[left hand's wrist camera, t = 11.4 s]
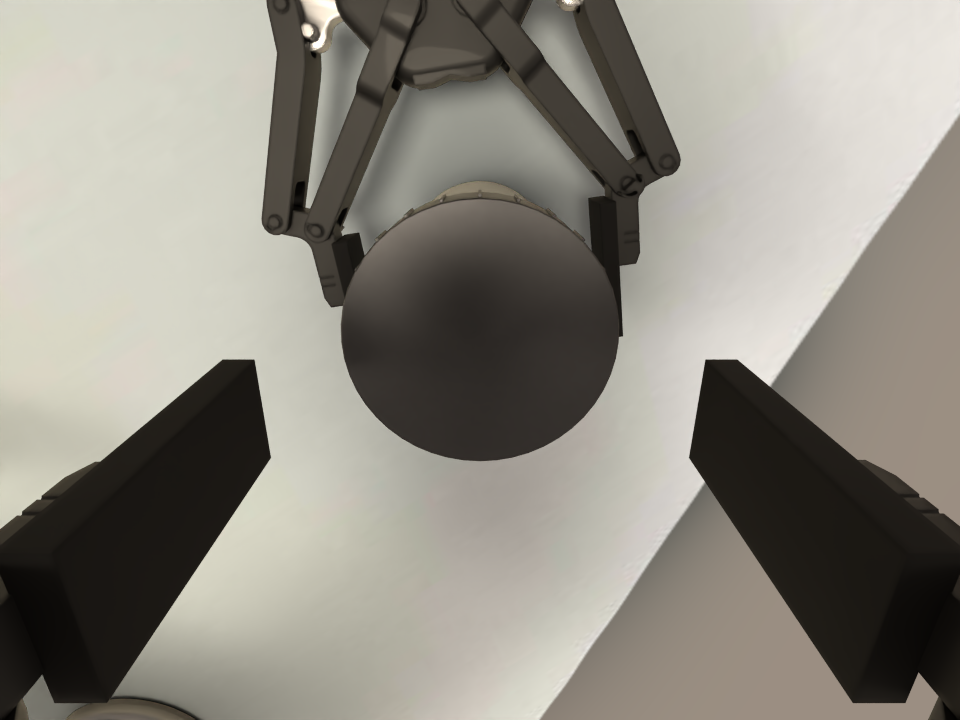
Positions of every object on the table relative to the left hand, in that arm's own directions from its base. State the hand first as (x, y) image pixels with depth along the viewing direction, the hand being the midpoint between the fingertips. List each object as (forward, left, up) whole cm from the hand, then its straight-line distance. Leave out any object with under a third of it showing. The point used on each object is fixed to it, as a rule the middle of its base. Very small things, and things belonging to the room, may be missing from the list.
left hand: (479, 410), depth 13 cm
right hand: (-3, -2, -15) cm, 15 cm away
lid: (0, 0, -5) cm, 5 cm away
